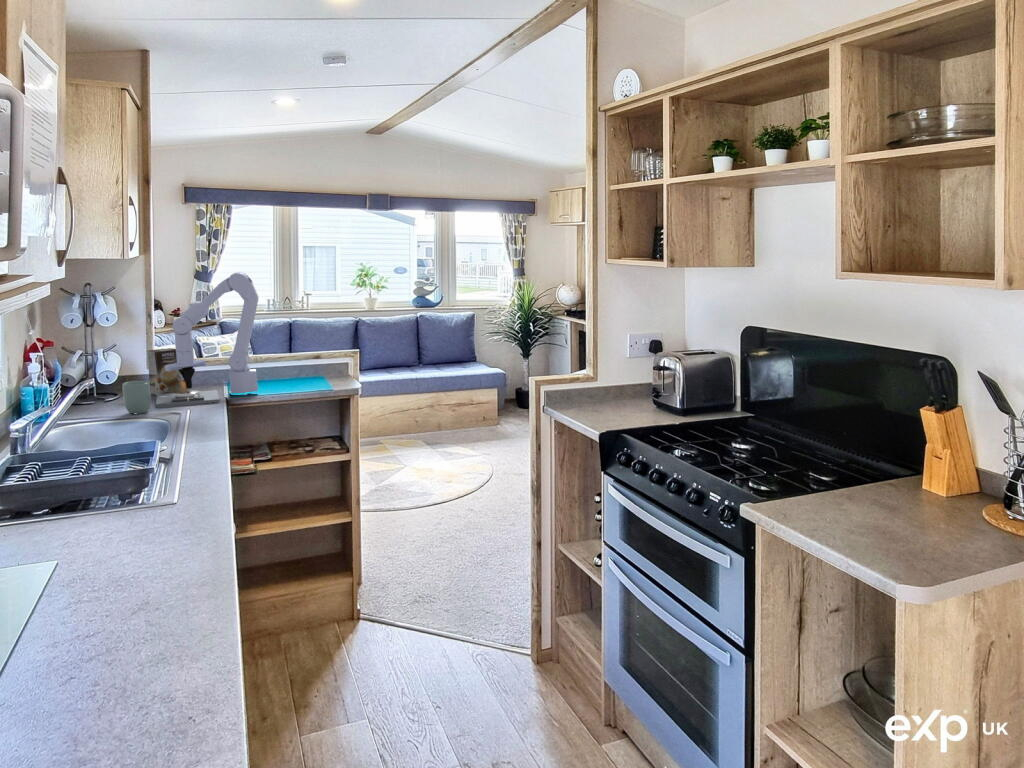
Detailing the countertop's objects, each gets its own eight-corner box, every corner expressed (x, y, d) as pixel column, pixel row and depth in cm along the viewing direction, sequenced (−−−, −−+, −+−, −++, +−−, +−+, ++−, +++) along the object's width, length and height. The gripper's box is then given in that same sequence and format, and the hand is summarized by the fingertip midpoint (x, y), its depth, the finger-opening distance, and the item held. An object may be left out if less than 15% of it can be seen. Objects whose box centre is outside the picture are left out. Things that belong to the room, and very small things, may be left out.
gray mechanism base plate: (217, 393, 271) (216, 385, 271) (220, 402, 255) (219, 394, 255) (157, 397, 263) (156, 389, 263) (156, 407, 247) (155, 399, 247)
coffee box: (159, 395, 267) (155, 351, 264) (150, 393, 271) (145, 350, 268) (183, 391, 274) (179, 348, 271) (173, 389, 278) (170, 347, 275)
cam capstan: (202, 396, 258) (201, 384, 257) (177, 399, 253) (176, 386, 253) (195, 391, 268) (194, 378, 267) (171, 393, 263) (170, 381, 263)
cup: (144, 415, 236) (141, 385, 234) (120, 415, 236) (117, 385, 234) (156, 410, 243) (153, 380, 242) (133, 410, 244) (130, 380, 242)
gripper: (197, 347, 271) (200, 383, 273) (159, 352, 259) (162, 390, 262) (208, 349, 267) (211, 385, 269) (169, 354, 255) (173, 392, 258)
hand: (187, 388), depth 265 cm, fingers closed, pressing on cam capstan
